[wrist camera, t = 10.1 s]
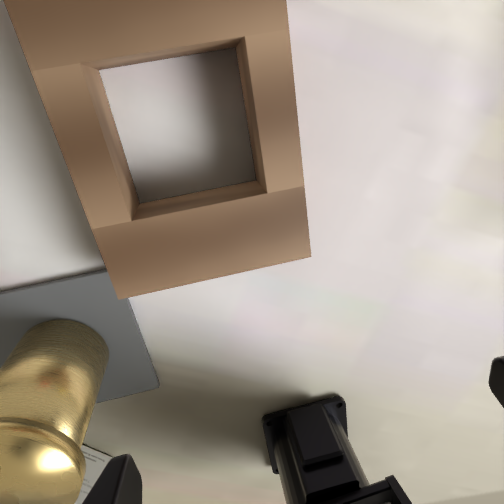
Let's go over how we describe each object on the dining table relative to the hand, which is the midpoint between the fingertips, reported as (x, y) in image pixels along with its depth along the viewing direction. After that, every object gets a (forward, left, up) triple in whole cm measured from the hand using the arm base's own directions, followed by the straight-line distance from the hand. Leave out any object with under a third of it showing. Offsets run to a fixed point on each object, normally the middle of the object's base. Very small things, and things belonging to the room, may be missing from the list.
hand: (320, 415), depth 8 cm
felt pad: (-5, +12, -13) cm, 18 cm away
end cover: (-5, +12, -12) cm, 18 cm away
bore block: (+6, +2, -13) cm, 14 cm away
